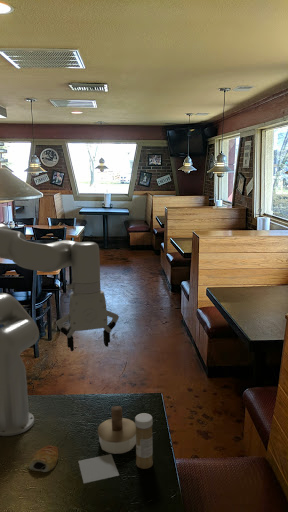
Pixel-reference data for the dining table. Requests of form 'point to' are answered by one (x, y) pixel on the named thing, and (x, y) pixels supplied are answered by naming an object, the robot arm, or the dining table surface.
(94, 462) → the mat
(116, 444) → the bowl
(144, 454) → the sprinkles bottle
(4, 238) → the robot arm
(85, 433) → the dining table surface
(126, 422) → the lid
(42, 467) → the pastry
